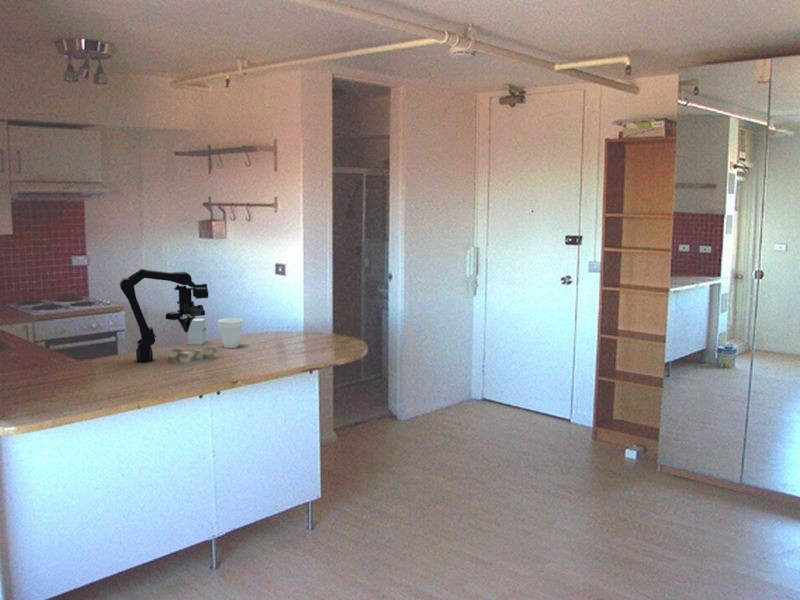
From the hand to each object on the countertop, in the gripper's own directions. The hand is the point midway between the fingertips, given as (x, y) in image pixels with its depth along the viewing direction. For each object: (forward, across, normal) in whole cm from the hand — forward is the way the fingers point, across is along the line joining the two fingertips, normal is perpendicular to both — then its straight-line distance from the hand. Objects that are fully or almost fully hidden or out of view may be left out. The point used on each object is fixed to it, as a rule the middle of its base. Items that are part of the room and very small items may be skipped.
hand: (186, 332), depth 340 cm
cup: (+12, +30, +3) cm, 33 cm away
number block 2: (+12, +5, -10) cm, 16 cm away
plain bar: (+12, -1, -6) cm, 13 cm away
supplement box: (+12, +26, +23) cm, 37 cm away
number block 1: (+12, -7, -1) cm, 14 cm away
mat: (+12, -1, -6) cm, 13 cm away
